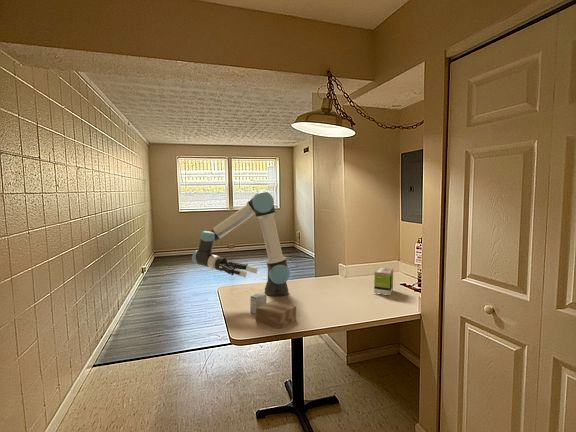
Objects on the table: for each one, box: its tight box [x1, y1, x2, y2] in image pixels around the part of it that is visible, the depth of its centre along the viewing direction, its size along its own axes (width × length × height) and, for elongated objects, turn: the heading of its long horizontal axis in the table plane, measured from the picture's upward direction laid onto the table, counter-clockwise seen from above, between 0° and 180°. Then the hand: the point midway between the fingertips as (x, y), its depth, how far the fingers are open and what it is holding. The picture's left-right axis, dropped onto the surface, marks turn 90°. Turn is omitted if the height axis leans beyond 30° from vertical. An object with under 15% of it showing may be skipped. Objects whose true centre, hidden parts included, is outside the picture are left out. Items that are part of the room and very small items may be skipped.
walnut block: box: [255, 300, 297, 329], centre depth 153 cm, size 14×14×7 cm
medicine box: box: [249, 292, 268, 315], centre depth 165 cm, size 8×4×9 cm, turn 141°
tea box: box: [373, 267, 394, 296], centre depth 203 cm, size 15×10×15 cm, turn 154°
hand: (251, 272), depth 167 cm, fingers open, 13 cm apart
